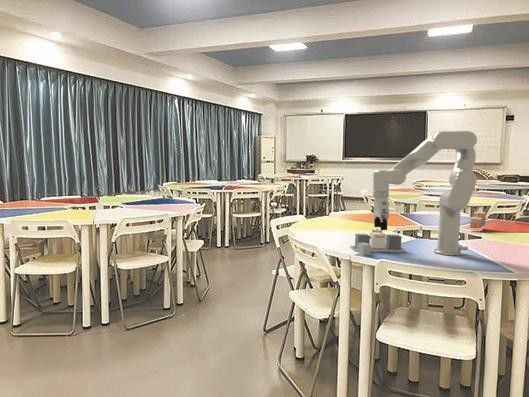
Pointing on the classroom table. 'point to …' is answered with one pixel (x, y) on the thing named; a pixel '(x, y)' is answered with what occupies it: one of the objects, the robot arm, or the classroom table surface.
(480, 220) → the stack of blocks
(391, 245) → the rail
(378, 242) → the block
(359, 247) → the block
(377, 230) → the grey spiky ball
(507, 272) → the classroom table surface
